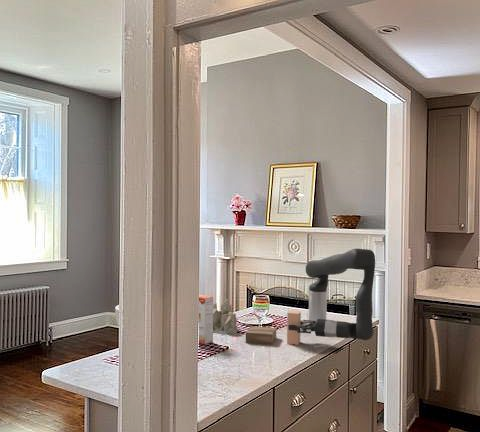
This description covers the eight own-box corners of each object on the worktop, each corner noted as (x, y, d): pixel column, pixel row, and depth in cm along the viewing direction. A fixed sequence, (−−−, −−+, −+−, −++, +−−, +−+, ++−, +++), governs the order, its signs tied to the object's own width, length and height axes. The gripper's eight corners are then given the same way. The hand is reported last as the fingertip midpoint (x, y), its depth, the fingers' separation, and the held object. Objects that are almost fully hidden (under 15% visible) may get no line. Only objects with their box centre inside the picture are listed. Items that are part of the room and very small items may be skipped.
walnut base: (251, 336, 234) (251, 326, 234) (276, 338, 231) (276, 327, 231) (245, 343, 222) (245, 332, 222) (271, 345, 219) (271, 334, 219)
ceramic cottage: (204, 325, 252) (206, 297, 250) (236, 326, 252) (238, 298, 251) (204, 336, 236) (205, 305, 235) (238, 337, 237) (240, 306, 236)
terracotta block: (289, 340, 226) (289, 310, 226) (300, 342, 224) (300, 311, 224) (287, 343, 221) (287, 312, 221) (298, 345, 220) (298, 313, 219)
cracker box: (182, 339, 227) (182, 294, 226) (191, 336, 231) (191, 292, 231) (204, 345, 218) (204, 298, 217) (213, 342, 223) (213, 296, 222)
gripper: (329, 316, 225) (294, 313, 230) (324, 323, 211) (287, 320, 216) (328, 332, 225) (293, 329, 230) (324, 340, 211) (287, 337, 216)
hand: (290, 325), depth 223 cm, fingers open, 8 cm apart
